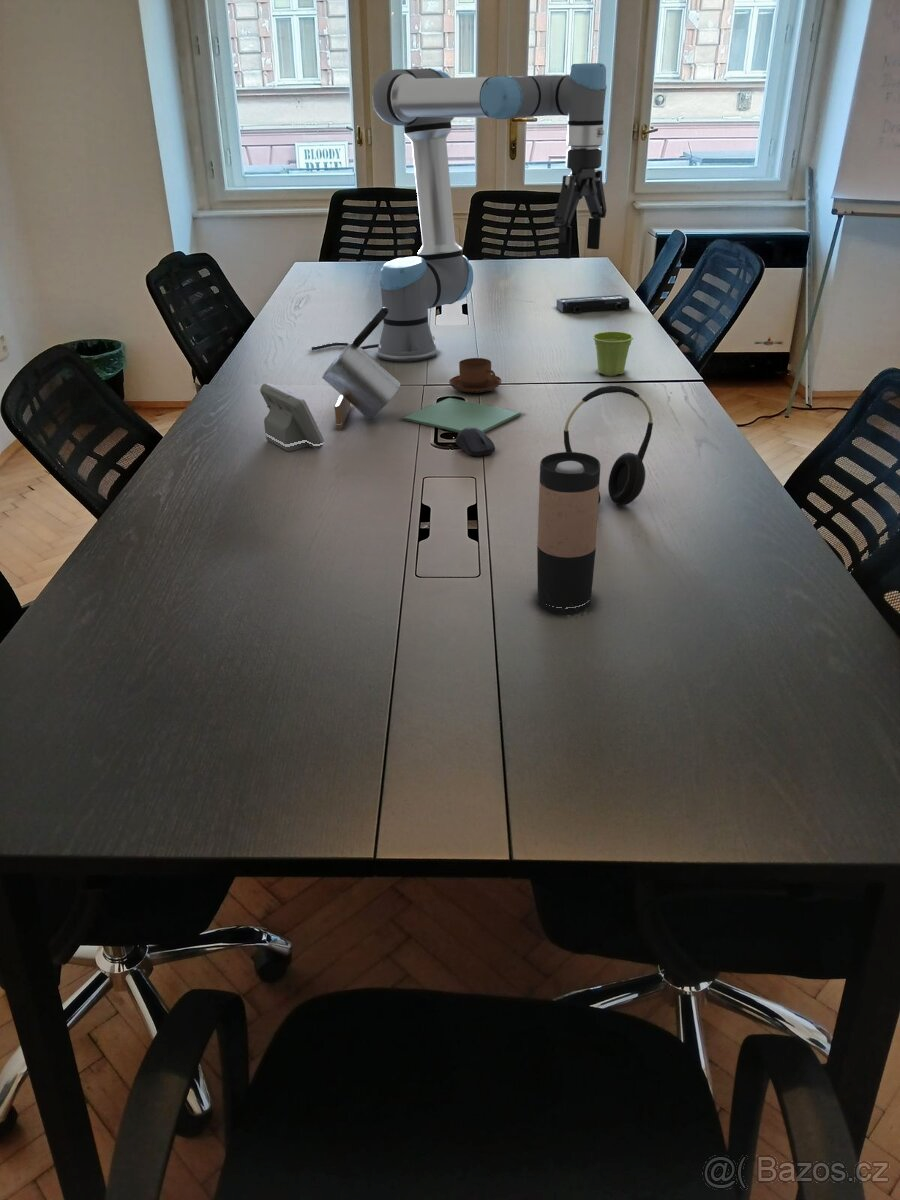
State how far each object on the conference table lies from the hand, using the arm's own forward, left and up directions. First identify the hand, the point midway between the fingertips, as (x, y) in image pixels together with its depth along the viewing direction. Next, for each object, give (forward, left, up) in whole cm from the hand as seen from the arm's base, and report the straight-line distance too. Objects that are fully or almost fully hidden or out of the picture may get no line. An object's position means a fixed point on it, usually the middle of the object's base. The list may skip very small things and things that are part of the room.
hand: (578, 253), depth 199 cm
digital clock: (-23, -71, -28) cm, 79 cm away
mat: (-3, -41, -27) cm, 49 cm away
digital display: (-31, +65, -28) cm, 77 cm away
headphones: (+43, -64, -28) cm, 82 cm away
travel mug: (+54, -95, -28) cm, 112 cm away
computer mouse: (+10, -55, -28) cm, 62 cm away
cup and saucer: (-13, -23, -28) cm, 38 cm away
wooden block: (-24, -55, -27) cm, 66 cm away
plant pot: (+7, +5, -28) cm, 29 cm away
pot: (-21, -52, -27) cm, 62 cm away
